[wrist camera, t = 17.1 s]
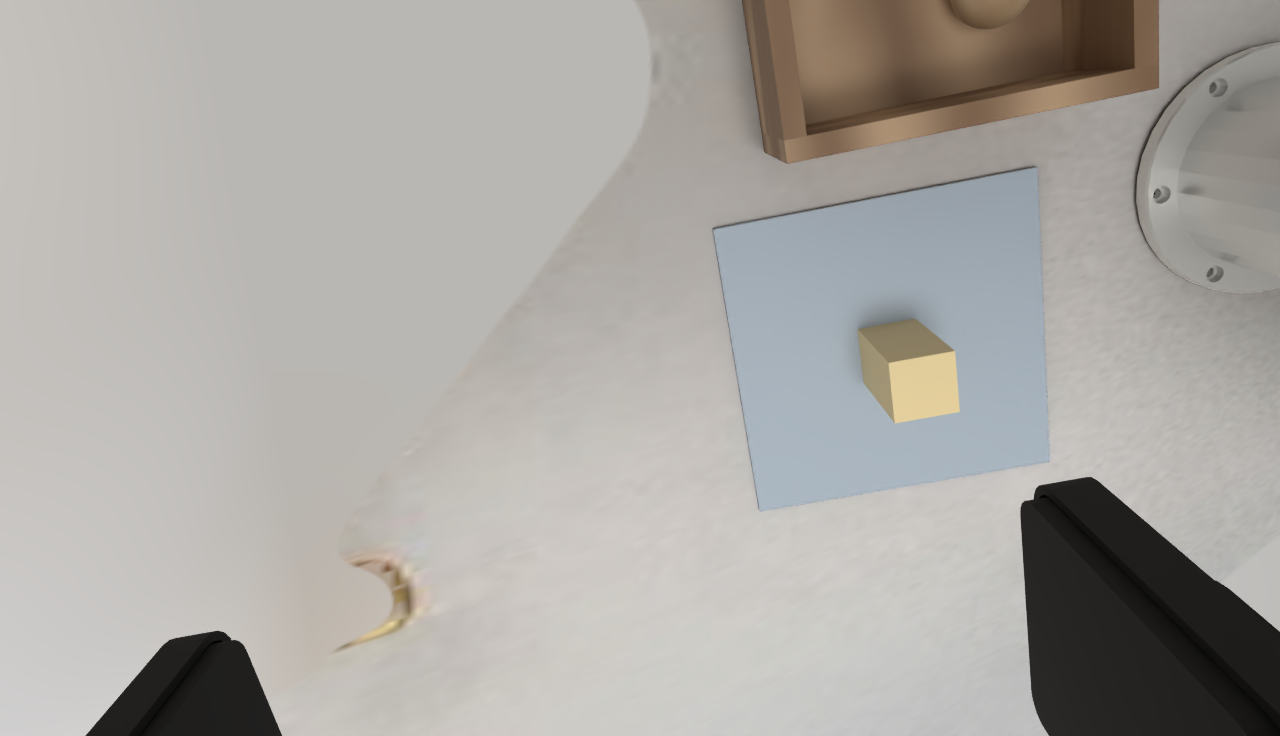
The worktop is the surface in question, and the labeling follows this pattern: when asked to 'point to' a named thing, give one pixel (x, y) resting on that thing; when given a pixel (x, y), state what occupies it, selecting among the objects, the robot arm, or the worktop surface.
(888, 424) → the lid
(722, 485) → the worktop surface
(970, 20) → the cork ball
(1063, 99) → the box
